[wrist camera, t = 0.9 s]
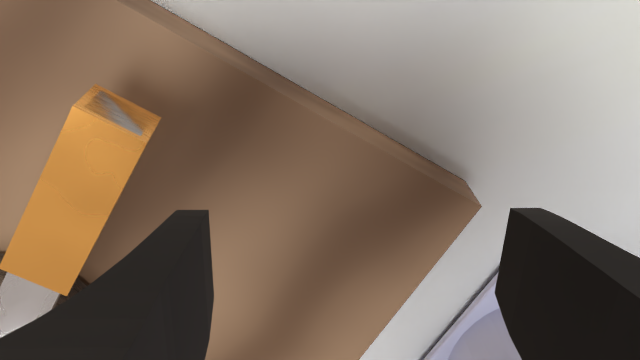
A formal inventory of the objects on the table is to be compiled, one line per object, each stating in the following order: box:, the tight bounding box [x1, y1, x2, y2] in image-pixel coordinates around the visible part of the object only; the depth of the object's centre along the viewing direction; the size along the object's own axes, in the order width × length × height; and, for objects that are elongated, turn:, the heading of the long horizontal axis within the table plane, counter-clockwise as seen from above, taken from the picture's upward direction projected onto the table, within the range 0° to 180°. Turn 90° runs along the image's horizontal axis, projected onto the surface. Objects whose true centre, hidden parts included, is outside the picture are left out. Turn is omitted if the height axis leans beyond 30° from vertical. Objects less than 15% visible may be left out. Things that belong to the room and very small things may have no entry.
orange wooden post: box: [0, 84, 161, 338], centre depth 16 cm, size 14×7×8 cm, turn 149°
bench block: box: [0, 0, 482, 360], centre depth 21 cm, size 19×19×2 cm
